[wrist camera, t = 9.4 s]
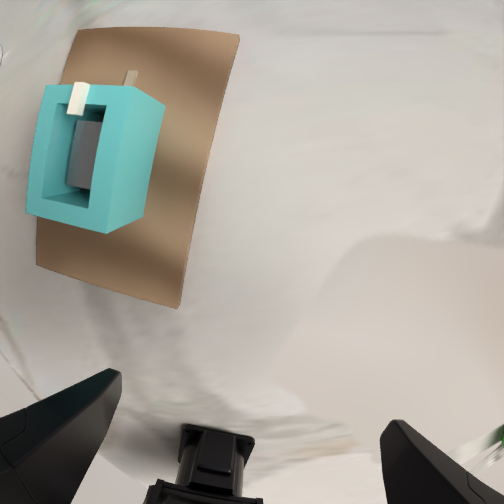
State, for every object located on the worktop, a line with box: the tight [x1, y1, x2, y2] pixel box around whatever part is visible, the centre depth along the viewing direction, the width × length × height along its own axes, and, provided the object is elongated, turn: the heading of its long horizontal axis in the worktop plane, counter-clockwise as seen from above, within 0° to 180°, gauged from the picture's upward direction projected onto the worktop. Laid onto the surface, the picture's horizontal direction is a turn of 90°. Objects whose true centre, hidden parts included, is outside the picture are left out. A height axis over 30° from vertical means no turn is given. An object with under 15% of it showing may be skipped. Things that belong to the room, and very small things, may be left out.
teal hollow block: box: [26, 82, 166, 234], centre depth 15 cm, size 7×6×6 cm
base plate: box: [36, 27, 240, 309], centre depth 18 cm, size 18×12×1 cm, turn 167°
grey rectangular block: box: [66, 120, 103, 190], centre depth 16 cm, size 4×2×4 cm, turn 167°
